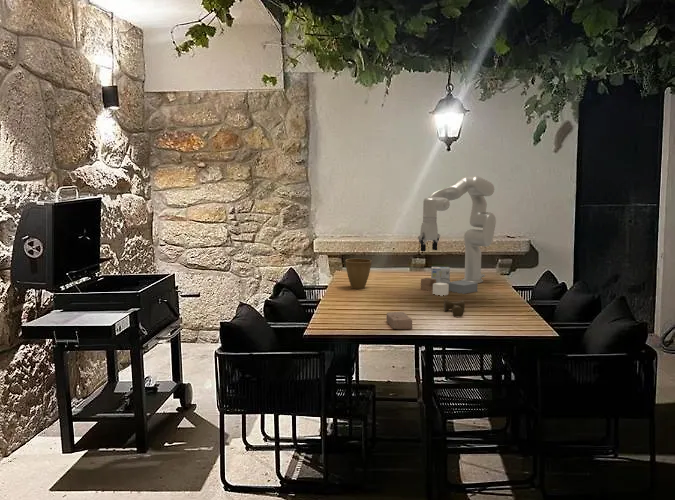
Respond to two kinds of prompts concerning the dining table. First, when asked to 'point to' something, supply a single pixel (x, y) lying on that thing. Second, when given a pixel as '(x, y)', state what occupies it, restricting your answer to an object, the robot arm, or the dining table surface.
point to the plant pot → (358, 272)
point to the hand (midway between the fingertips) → (428, 250)
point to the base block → (462, 286)
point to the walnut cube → (427, 284)
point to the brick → (399, 320)
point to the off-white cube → (440, 289)
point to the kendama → (455, 307)
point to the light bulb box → (440, 274)
